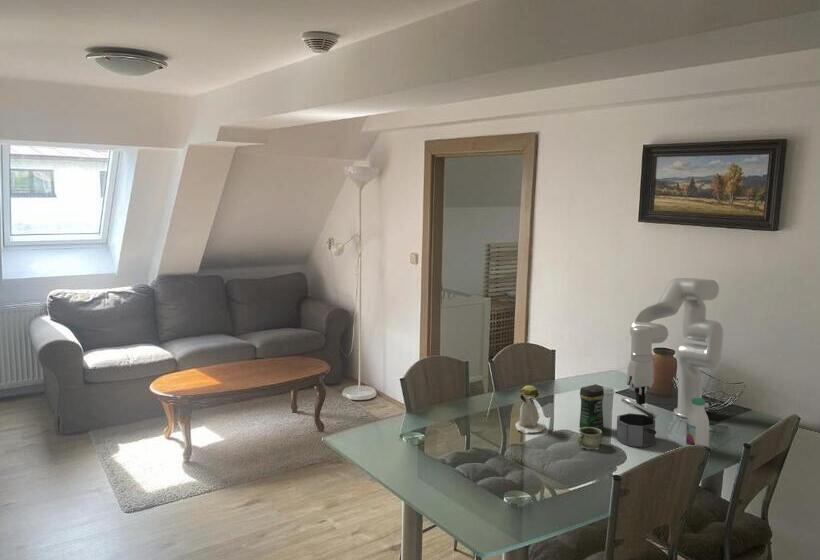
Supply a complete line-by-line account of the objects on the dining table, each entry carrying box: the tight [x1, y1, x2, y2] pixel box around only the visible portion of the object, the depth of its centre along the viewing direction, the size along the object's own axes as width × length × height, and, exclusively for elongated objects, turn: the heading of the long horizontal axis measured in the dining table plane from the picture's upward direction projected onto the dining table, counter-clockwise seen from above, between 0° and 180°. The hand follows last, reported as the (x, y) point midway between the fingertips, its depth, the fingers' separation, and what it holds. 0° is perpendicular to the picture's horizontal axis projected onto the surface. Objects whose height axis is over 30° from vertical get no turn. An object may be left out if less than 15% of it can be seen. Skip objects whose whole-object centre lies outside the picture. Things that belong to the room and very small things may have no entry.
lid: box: [620, 397, 658, 419], centre depth 245 cm, size 15×14×2 cm
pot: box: [616, 412, 657, 448], centre depth 246 cm, size 15×20×8 cm
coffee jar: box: [578, 383, 605, 431], centre depth 259 cm, size 10×8×19 cm
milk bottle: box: [685, 398, 710, 448], centre depth 234 cm, size 8×8×20 cm
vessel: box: [577, 427, 604, 450], centre depth 242 cm, size 12×9×6 cm
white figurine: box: [515, 385, 547, 434], centre depth 262 cm, size 12×13×18 cm
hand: (640, 403), depth 245 cm, fingers closed
